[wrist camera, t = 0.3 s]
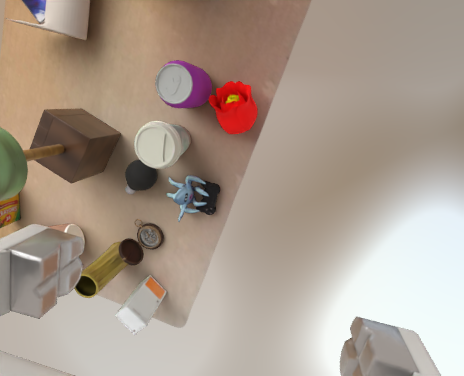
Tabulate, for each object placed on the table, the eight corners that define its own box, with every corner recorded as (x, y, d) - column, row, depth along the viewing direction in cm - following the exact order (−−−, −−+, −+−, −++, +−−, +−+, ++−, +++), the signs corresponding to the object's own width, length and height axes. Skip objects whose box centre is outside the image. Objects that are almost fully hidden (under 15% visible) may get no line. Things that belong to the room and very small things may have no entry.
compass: (169, 238, 72) (156, 253, 65) (145, 255, 74) (130, 271, 68) (147, 211, 71) (132, 222, 64) (123, 229, 74) (106, 242, 67)
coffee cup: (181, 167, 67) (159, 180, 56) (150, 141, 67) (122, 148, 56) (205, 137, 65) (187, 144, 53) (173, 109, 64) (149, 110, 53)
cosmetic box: (167, 291, 76) (147, 326, 65) (156, 300, 77) (134, 336, 66) (150, 273, 75) (126, 306, 64) (138, 282, 77) (113, 316, 65)
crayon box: (-5, 231, 71) (-11, 181, 67) (-17, 229, 71) (-23, 179, 68) (21, 219, 78) (17, 173, 75) (11, 217, 78) (6, 171, 75)
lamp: (82, 106, 68) (-96, 109, 36) (126, 133, 67) (-15, 160, 36) (64, 149, 71) (-113, 186, 39) (106, 175, 71) (-39, 233, 39)
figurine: (169, 170, 69) (157, 171, 61) (223, 179, 68) (218, 181, 60) (163, 212, 70) (151, 219, 62) (216, 221, 69) (210, 229, 61)
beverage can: (189, 58, 61) (166, 48, 50) (220, 82, 61) (205, 78, 50) (168, 92, 63) (142, 89, 52) (199, 115, 64) (179, 118, 52)
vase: (105, 248, 76) (65, 279, 62) (124, 237, 74) (87, 267, 61) (119, 268, 77) (82, 304, 63) (138, 258, 75) (105, 293, 61)
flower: (224, 145, 60) (209, 114, 53) (220, 118, 64) (206, 87, 58) (264, 133, 58) (253, 100, 52) (257, 106, 63) (247, 73, 57)
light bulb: (108, 192, 67) (126, 165, 61) (123, 174, 72) (141, 148, 65) (134, 209, 68) (154, 185, 62) (147, 191, 73) (167, 167, 67)
